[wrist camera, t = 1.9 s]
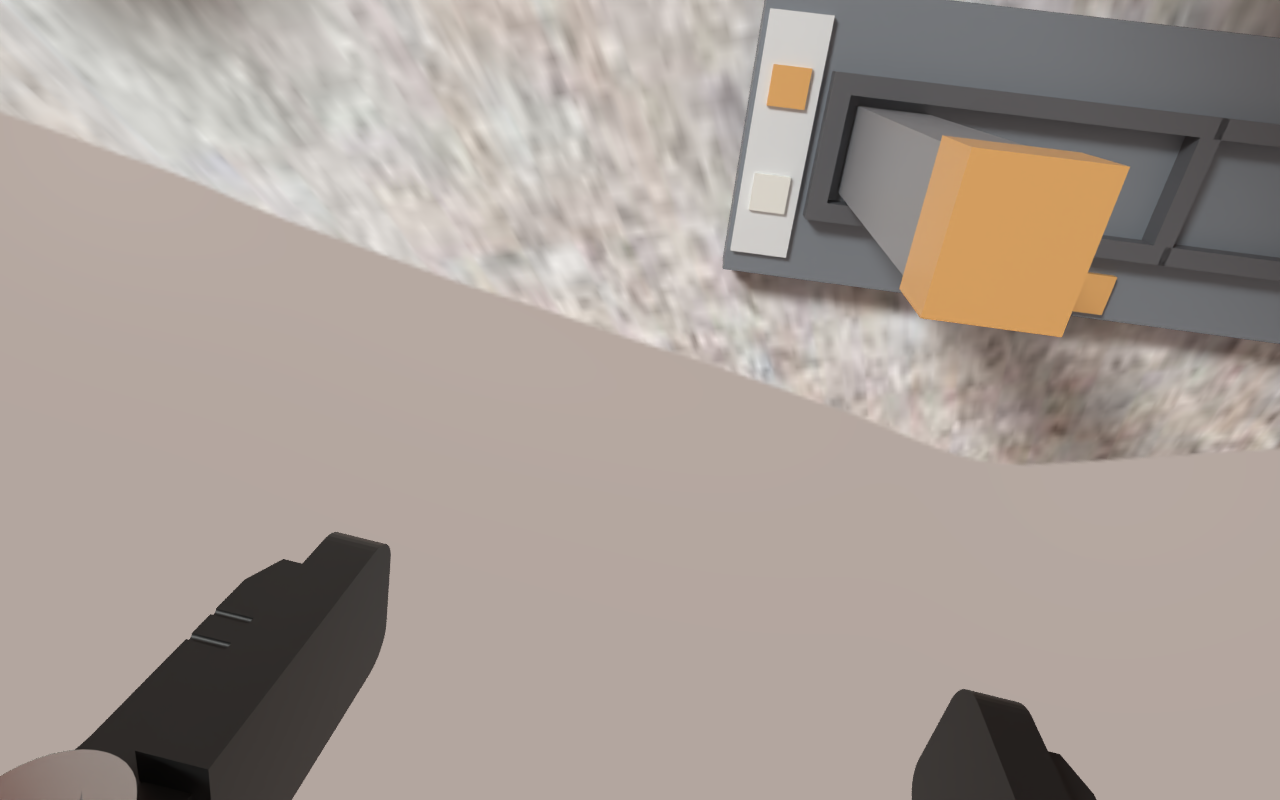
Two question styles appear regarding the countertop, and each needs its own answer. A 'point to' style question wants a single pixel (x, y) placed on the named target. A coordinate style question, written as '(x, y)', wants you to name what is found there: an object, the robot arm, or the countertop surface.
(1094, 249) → the switch orange
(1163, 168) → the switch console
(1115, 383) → the countertop surface
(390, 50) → the countertop surface
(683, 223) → the countertop surface
